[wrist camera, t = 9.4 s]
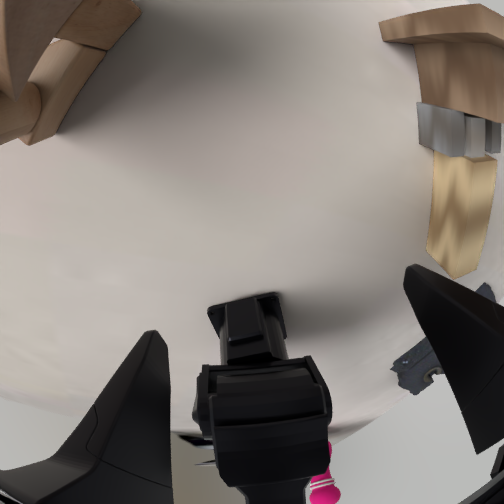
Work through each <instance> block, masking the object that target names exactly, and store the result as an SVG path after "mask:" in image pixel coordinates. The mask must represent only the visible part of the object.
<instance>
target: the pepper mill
mask: <svg viewBox="0 0 504 504" xmlns="http://www.w3.org/2000/svg"><path fill="white" fill-rule="evenodd" d="M328 444H329V452H330V458H331V453H332V447H331V443H330V442H329V441H328ZM334 484H335V482H334V478H332V477H331V474H330V470H329V466H328V468H327V471H326V473H325V474H323V475H318V476H314V477H313V478H312V479H311V484H310V487H311V488H310V490H313V491H312V493H311V495H310V502H311V504H335V503H337V501H338V500H339V499H340V495H341V494H340V491H339V489H338V488H337V487H335V486H334Z"/></svg>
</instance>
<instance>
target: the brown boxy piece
mask: <svg viewBox="0 0 504 504" xmlns="http://www.w3.org/2000/svg"><path fill="white" fill-rule="evenodd" d="M379 26H380V30H381V34H382V39H383V41H387V42H397V43H406V44H413V45H414V50H415V56H416V61H417V67H418V74H419V81H420V89H421V98H422V103H418V102H417V113H418V128H419V144H421V145H424V146H426V147H429V148H431V149H433V150H436V151H438V152H440V153H442V154H445V155H447V156H449V157H459V156H464V147H465V124H464V112H465V113H468V114H472V115H475V116H479V117H482V118H485V151H487V152H489V153H500V149H501V123H504V17H503V16H501V15H500V14H498V13H496V12H494V11H492V10H491V9H489V8H487V7H485V6H483V5H481V4H468V5H459V6H451V7H444V8H438V9H432V10H427V11H422V12H417V13H412V14H408V15H404V16H400V17H396V18H392V19H389V20H385V21H382V22H379Z"/></svg>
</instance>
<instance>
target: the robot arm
mask: <svg viewBox="0 0 504 504" xmlns="http://www.w3.org/2000/svg"><path fill="white" fill-rule="evenodd" d="M403 287H404V290H405V293H406V295H407V297H408V299H409V301H410V304H411V306H412V308H413V310H414V313H415V315H416V318H417V320H418V322H419V324H420V326H421V328H422V330H423V332H424V333H425V335H426V337H427V339H428V341H429V343H430V345H431V347H432V349H433V351H434V353H435V355H436V357H437V359H438V361H439V363H440V365H441V367H442V369H443V371H444V373H445V375H446V377H447V380H448V382H449V384H450V386H451V388H452V391H453V393H454V395H455V398H456V400H457V403H458V405H459V407H460V410H461V411H462V412H461V413H462V415H463V418H464V421H465V423H466V426H467V428H468V431H469V434H470V437H471V440H472V443H473V445H474V449H475V452H476V454H479V453H481V452H483V451H485V450H486V449H488V448H489V447H491V446H493V445H494V444H496V443H497V442H499V441H500V440H502V439H503V438H504V307H503V306H501V305H499V304H498V303H496V302H494V301H493V302H492V300H490V299H488V298H486V297H484V296H482V295H480V294H478V293H476V292H474V291H472V290H470V289H468V288H466V287H464V286H462V285H460V284H458V283H456V282H454V281H452V280H450V279H448V278H446V277H444V276H442V275H440V274H438V273H436V272H433V271H431V270H429V269H427V268H425V267H423V266H420V265H418V264H413V265H410V266H408V267H407V268H406V270H405V277H404V282H403ZM273 297H274V298H273ZM271 298H273V299H271ZM207 314H208V317H209V319H210V321H211V323H212V325H213V327H214V329H215V331H216V333H217V335H218V337H219V339H220V354H221V365H209V364H206V365H202V373H200V375H199V376H198V377H197V393H196V399H195V403H194V407H193V412H192V418H193V420H194V421H195V422H196V423H197V424H198V425H199V426H200V430H201V431H202V434H203V437H204V439H205V440H212V439H213V446H214V453H215V461H216V466H217V468H218V470H219V474H220V477H221V478H222V479H223V481H224V482H225V483H226V484H227V486H228V487H236V488H237V489H238V490H239V491H240V492H241V493H242V494H243V495H244V496H245V500H246V504H306V497H305V488H306V487H307V485H308V484H309V482H310V481H311V479H312V478H313V477H314V476H318V475H323V474H325V473H326V471H327V468H328V466H329V463H330V452H329V444H328V425H329V424H330V423H331V419H332V401H331V396H330V392H329V389H328V387H327V385H326V383H325V381H324V379H323V377H322V376H321V374H320V372H319V370H318V368H317V366H316V364H315V363H314V361H313V359H312V357H311V355H310V356H304V357H303V358H296V359H289V358H288V354H287V350H286V346H285V342H284V339H286V337H287V335H286V330H285V325H284V321H283V316H282V312H281V307H280V302H279V298H278V295H277V293H274V292H272V293H268V294H263V295H259V296H255V297H251V298H247V299H243V300H238V301H234V302H230V303H225V304H221V305H216V306H212V307H209V308H208V310H207ZM170 398H171V385H170V372H169V358H168V347H167V345H166V343H165V341H164V340H163V338H162V337H161V335H160V334H159V332H158V331H156V330H150V331H146V332H145V333H144V334H143V335H142V336H141V338H140V339H139V341H138V342H137V343H136V345H135V346H134V347H133V349H132V350H131V351H130V353H129V354H128V356H127V357H126V358H125V360H124V361H123V362H122V364H121V365H120V367H119V368H118V369H117V371H116V372H115V374H114V375H113V376H112V378H111V379H110V381H109V382H108V384H107V385H106V386H105V388H104V389H103V391H102V392H101V394H100V395H99V396H98V398H97V399H96V401H95V402H94V404H93V405H92V407H91V408H90V409H89V411H88V412H87V414H86V415H85V417H84V418H83V419H82V421H81V422H80V423H79V425H78V426H77V427H76V429H75V430H74V431H73V432H72V434H71V435H70V436H69V437H68V439H67V440H66V441H65V442H64V444H63V445H62V446H61V447H60V448H59V450H58V451H57V452H56V453H55V454H54V455H53V456H51V457H50V458H48V459H46V460H43V461H40V462H37V463H33V464H30V465H26V466H23V467H19V468H16V469H12V470H4V471H3V470H0V490H1V491H2V492H4V493H5V494H7V495H8V496H7V495H5V494H3V493H1V492H0V504H174V502H173V488H172V474H171V473H172V472H171V446H170V445H171V444H170ZM490 475H491V478H492V480H491V481H489V482H488V483H487V484H485V485H484V486H483V487H481V488H480V489H479V490H477V491H476V492H475V493H473V494H472V495H471V496H469V497H467V498H466V499H464V500H463V501H461V502H460V503H459V504H504V444H503V445H502V446H501V447H500V448H499V450H498V454H497V457H496V460H495V463H494V466H493V469H492V472H491V474H490ZM9 496H10V497H9Z"/></svg>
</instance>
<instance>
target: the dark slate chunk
mask: <svg viewBox="0 0 504 504" xmlns="http://www.w3.org/2000/svg"><path fill="white" fill-rule="evenodd" d="M475 292H476V293H478V294H480V295H482V296H484V297H486V298H488V299H490V300H492V302H493V301H494V302H496V300H495V296H494V294H493V292H492V291H491V287H490V286H489V285H486V283H483V284H482V285H481V286H480V288H478V289H477V290H476V291H475ZM393 365H394V366H393V367H392V368H391V369H390V370H392V371H394V372H397V373H398V375H397V376H398V379H399V382H398V385H399V386H400V387H402V388H403V389H406V390H409V391H410V393H412V394H413V395H417V394H419V393H420V391H422V390H424V389H425V388H426V387H428V386H429V385H430V384H431V383H433V382H434V381H433V379H432V377H431V376H432V375H433V374H434V373H435V374H436V375H438V374H445V373H444V371H443V369H442V367H441V365H440V363H439V361H438V359H437V357H436V355H435V353H434V351H433V349H432V347H431V345H430V343H429V341H428V339H427V337H425V338H424V339H423V340H422V341H420V342H419V343H418V344H417V345H415V346H414V347H413V348H412V349H410V350H409V351H408V352H406V353H405V354H404V355H402V356H401V357H400V358H398V359H397V360H396V361H394V363H393Z"/></svg>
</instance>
